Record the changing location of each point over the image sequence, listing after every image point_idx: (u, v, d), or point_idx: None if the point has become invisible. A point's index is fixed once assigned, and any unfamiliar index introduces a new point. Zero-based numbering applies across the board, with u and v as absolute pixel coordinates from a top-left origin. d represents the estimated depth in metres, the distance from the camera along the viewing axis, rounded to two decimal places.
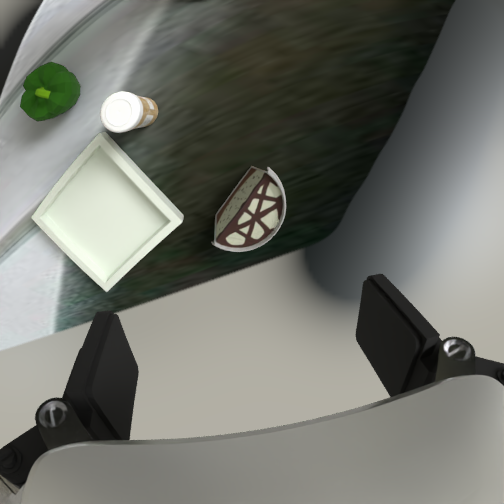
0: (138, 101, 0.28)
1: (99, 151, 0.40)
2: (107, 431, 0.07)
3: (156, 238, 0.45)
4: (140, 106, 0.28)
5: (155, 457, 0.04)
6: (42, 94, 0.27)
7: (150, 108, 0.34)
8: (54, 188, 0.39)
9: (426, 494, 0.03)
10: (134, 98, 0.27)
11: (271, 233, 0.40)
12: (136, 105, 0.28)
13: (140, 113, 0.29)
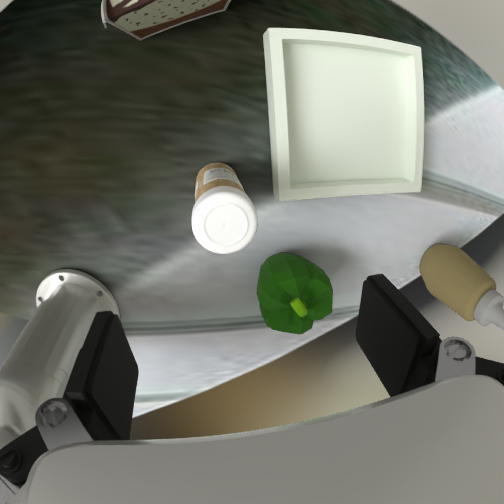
0: (192, 218, 0.21)
1: (296, 180, 0.33)
2: (107, 431, 0.07)
3: (316, 36, 0.25)
4: (194, 210, 0.21)
5: (155, 457, 0.04)
6: (300, 308, 0.29)
7: (197, 187, 0.26)
8: (374, 191, 0.33)
9: (426, 494, 0.03)
10: (193, 227, 0.21)
11: None
12: (197, 216, 0.20)
13: (200, 200, 0.20)
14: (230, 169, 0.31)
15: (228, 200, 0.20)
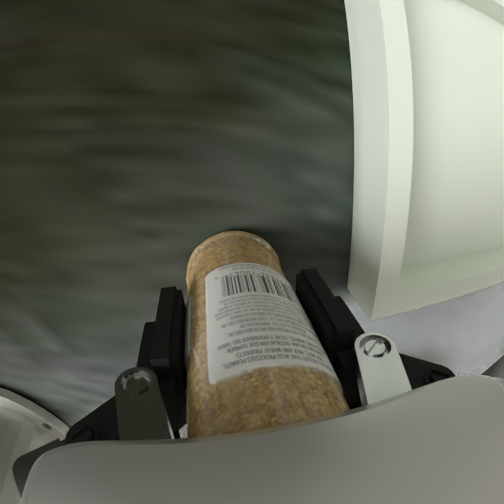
0: None
1: None
2: (181, 400, 0.08)
3: None
4: None
5: (155, 457, 0.04)
6: None
7: (189, 347, 0.09)
8: None
9: (426, 494, 0.03)
10: None
11: None
12: None
13: None
14: (267, 249, 0.14)
15: None
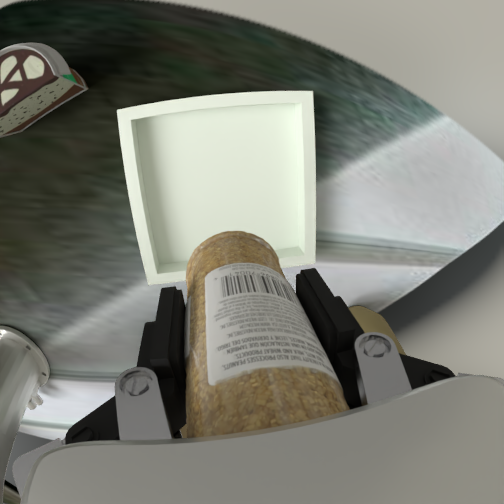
0: None
1: (170, 259, 0.33)
2: (181, 400, 0.08)
3: (168, 108, 0.25)
4: None
5: (155, 457, 0.04)
6: None
7: (188, 347, 0.09)
8: None
9: (426, 494, 0.03)
10: None
11: None
12: None
13: None
14: (266, 249, 0.14)
15: None
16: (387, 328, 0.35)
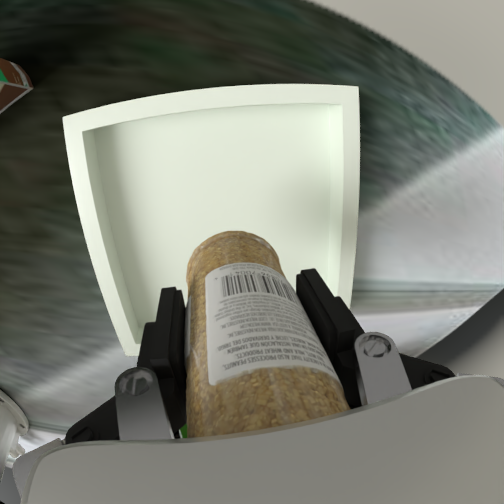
0: None
1: (153, 321, 0.24)
2: (182, 399, 0.08)
3: (137, 110, 0.15)
4: None
5: (155, 457, 0.04)
6: None
7: (188, 347, 0.09)
8: None
9: (426, 494, 0.03)
10: None
11: None
12: None
13: None
14: (267, 249, 0.14)
15: None
16: None
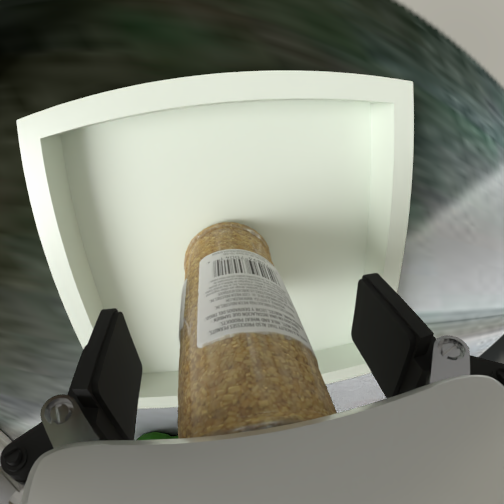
0: None
1: (147, 368, 0.19)
2: (112, 428, 0.07)
3: (112, 107, 0.10)
4: None
5: (155, 457, 0.04)
6: None
7: (182, 320, 0.10)
8: None
9: (426, 494, 0.03)
10: None
11: None
12: None
13: None
14: (257, 239, 0.15)
15: None
16: None
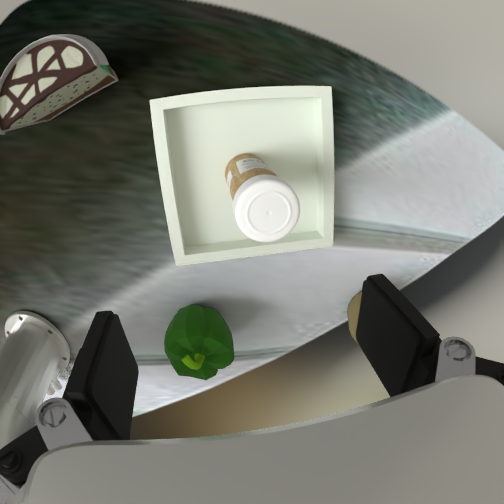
0: (235, 206, 0.21)
1: (196, 242, 0.35)
2: (107, 431, 0.07)
3: (199, 99, 0.27)
4: (237, 197, 0.21)
5: (155, 457, 0.04)
6: (190, 364, 0.32)
7: (231, 176, 0.26)
8: (274, 251, 0.35)
9: (426, 494, 0.03)
10: (237, 215, 0.21)
11: (31, 48, 0.16)
12: (241, 204, 0.20)
13: (244, 188, 0.20)
14: (260, 160, 0.31)
15: (273, 188, 0.20)
16: None
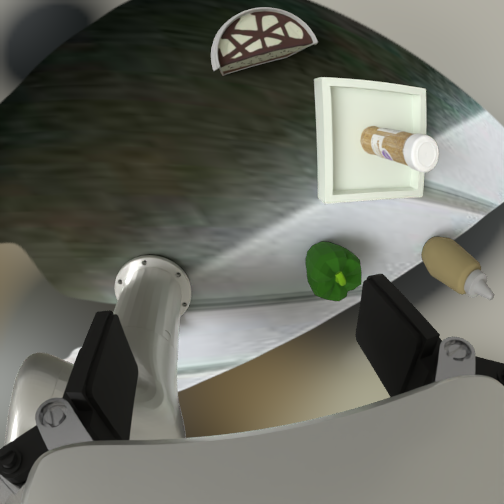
0: (410, 148, 0.30)
1: (335, 188, 0.45)
2: (107, 431, 0.07)
3: (353, 84, 0.36)
4: (411, 143, 0.30)
5: (155, 457, 0.04)
6: (342, 278, 0.41)
7: (383, 136, 0.36)
8: (389, 197, 0.44)
9: (426, 494, 0.03)
10: (412, 153, 0.30)
11: (256, 11, 0.26)
12: (415, 146, 0.30)
13: (415, 138, 0.30)
14: None
15: (429, 140, 0.30)
16: (461, 247, 0.47)
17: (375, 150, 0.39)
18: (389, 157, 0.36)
